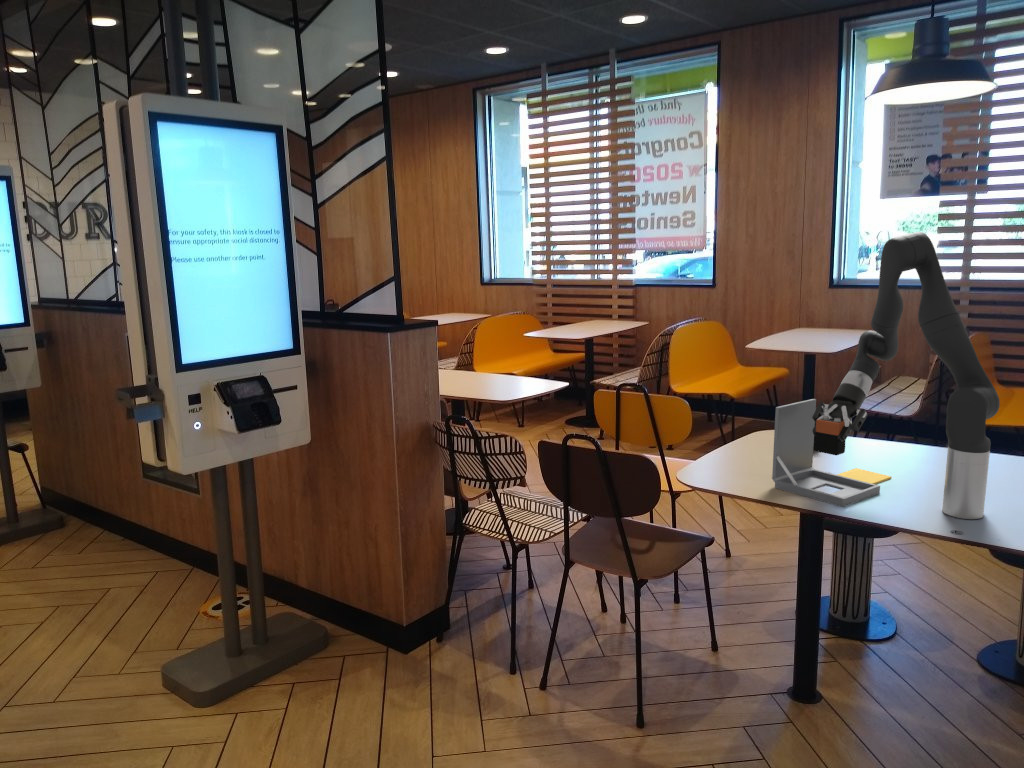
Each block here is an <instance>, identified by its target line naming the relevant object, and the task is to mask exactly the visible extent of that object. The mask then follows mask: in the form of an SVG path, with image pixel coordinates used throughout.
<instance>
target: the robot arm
mask: <svg viewBox="0 0 1024 768" xmlns="http://www.w3.org/2000/svg"><path fill="white" fill-rule="evenodd" d="M910 270H916V273H917V276H918V278H919V281H920V284H921V297H920V303H919V308H918V315H917V317H918V318H917V320H918V324H919V326H920V328H921V331H922V333H923V335H924V336H923V337H924V339H925V340H926V343H927V344H928V346H929V347H930V349H931V350H932V351H933V353H934V354H935V355H936V356H937V357H938V358H939V359H940V360H941V361H942V362H943V363H944V365H945V366H946V367H947V368H948V370H949V371H950V373H951V375H952V376H953V379H954V382H955V384H956V386H957V389H955V390H954V391H953V392H952V393H951V394H950V396H949V398H948V401H947V405H946V417H945V419H946V420H945V421H946V422H945V425H946V426H945V434H946V437H947V454H946V464H945V473H944V474H945V477H944V485H943V487H944V488H943V498H942V509H941V511H942V513H944V514H945V515H948V516H950V517H954V518H957V519H963V520H978V519H982V518H984V513H985V502H986V493H987V487H988V485H987V484H988V474H989V464H990V455H991V444H992V442H991V439H990V438H989V437H987V435H986V425H987V422H986V421H987V420H989V419H991V418H994V416H995V415H997V413H998V412H999V410H1000V405H1001V404H1000V398H999V394H998V392H997V391H996V388H995V387H994V385H993V383H992V381H991V380H990V378H989V376H988V374H987V373H986V371H985V370H984V368H983V366H982V364H981V362H980V360H979V358H978V355H977V353H976V350H975V348H974V346H973V343H972V341H971V339H970V336H969V334H968V332H967V329H966V327H965V324H964V322H963V320H962V318H961V315H960V313H959V311H958V309H957V306H956V305H955V303H954V300H953V298H952V295H951V293H950V290H949V288H948V285H947V283H946V281H945V278H944V273H943V272H942V267H941V265H940V261H939V258H938V255H937V252H936V249H935V246H934V244H933V242H932V240H931V239H930V237H929V236H928V235H927V234H926V233H924V232H922V231H915V232H911V233H906V234H903V235H899V236H894V237H892V238H889V239H888V240H887V241H886V242H885V244H884V245H883V247H882V251H881V258H880V270H879V276H878V277H879V280H878V281H879V283H878V292H877V299H876V304H875V307H874V309H873V314H872V317H871V321H870V326H871V328H872V329H873V330H866V331H864V332H863V333H862V334H860V336H859V339H858V343H857V351H856V356H855V358H854V360H853V363H852V365H851V366H850V367H849V370H848V372H847V374H846V375H845V376H844V378H843V379H842V381H841V383H840V385H839V387H838V388H837V390H836V392H835V393H834V395H833V398H832V401H831V402H830V403H829V404H828V403H826V404H825V403H824V402H823V401H820V402H819V403H818V404H817V406H816V411H815V413H814V415H813V417H812V418H813V420H814V421H815V423H816V420H818V419H821V418H822V416H823V415H826V416H830V418H831V419H834V418H840V420H843V421H844V422H845V423H844V424H845V427H843V428H842V430H841V432H840V434H839V435H838V440H839V441H840V442H843V441H844V440H845V441H847V438H848V436H849V435H850V433H851V432H852V431H855V432H859V431H860V430H861V427H862V426H863V424H864V422H865V421H866V419H867V417H868V413H867V411H866V409H865V408H861V407H862V405H863V404H864V401H865V399H866V398H867V396H868V395H869V392H870V390H871V388H872V384H873V383H874V381H875V379H876V378H877V376H878V374H879V372H880V365H879V363H878V362H877V361H876V360H875V359H877V360H881V361H884V362H889V361H891V360H892V359H894V358H895V357H896V355H897V353H898V350H899V337H898V336H899V333H898V332H899V324H900V321H901V318H902V314H903V310H904V300H903V297H902V294H901V293H900V290H899V287H898V284H899V281H900V278H901V275H902V273H903V272H907V271H910ZM872 357H873V358H875V359H873V358H872ZM855 416H856V417H855ZM854 417H855V418H854ZM853 418H854V420H853V421H852V419H853ZM812 432H813V434H814V436H815V437H816V425H815V426H814V428H813V431H812Z"/></svg>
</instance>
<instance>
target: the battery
mask: <svg viewBox="0 0 1024 768" xmlns="http://www.w3.org/2000/svg"><path fill="white" fill-rule="evenodd" d="M830 417H831V416H830V415H829V416H826V415H823V416H822V418H821V419H818V420H816V440H815V449H814V450H815V451H816V452H818V453H822V454H828V455H833V456H839V455H842V454H844V453H845V451H846V440H844V441H843V442H840V441H839V440H838V435H839V434H840V432H841V430H842V428H843V427H845V424H844V423H845V422H844V421H843V420H840V418H834V419H831V418H830Z"/></svg>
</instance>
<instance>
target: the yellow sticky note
mask: <svg viewBox="0 0 1024 768" xmlns="http://www.w3.org/2000/svg"><path fill="white" fill-rule="evenodd" d="M836 475H839V476H843V477H847V478H851V479H855V480H859V481H863V482H867V483H871V484H875V485H879V484H880V483H883V482H885V481H888V480H891V479H892V476H890V475H886V474H882V473H878V472H874V471H870V470H865V469H861V468H858V467H855V468H852V469H850V470H847V471H844V472H841V473H838V474H836Z"/></svg>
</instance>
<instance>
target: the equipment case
mask: <svg viewBox="0 0 1024 768" xmlns="http://www.w3.org/2000/svg"><path fill="white" fill-rule="evenodd" d="M816 409H817V398H811V399H807V400H802V401H801V400H800V401H797V402H793V403H789V404H785V405H780V406H776V407H775V417H774V434H773V436H774V437H773V455H772V474H771V479H772V481H773V483H774V488H775V489H779V490H781V491H785V492H790V493H792V494H796V495H800V496H803V497H806V498H811V499H813V500H817V501H821V502H824V503H826V504H827V503H828V504H831V505H835V506H837V507H841V508H844V507H847V506H850V505H852V504H855V503H857V502H861V501H863V500H866V499H869V498H871V497H873V496H876V495H879V494H881V493H880V492H881V485H879V484H871V483H867V482H863V481H859V480H855V479H851V478H847V477H843V476H839V475H837V474H835V473H830V472H827V471H823V470H819V469H814V467H813V463H814V462H813V460H814V459H813V458H814V448H813V446H814V434H813V432H812V431H813V428H814V426H815V421H814V420H813V418H812V417H813V415H814V413H815V411H816ZM824 486H829V487H831V488H832V487H833V488H837V489H838V490H836V491H834V492H831V493H828V492H825V491H821V490H817V489H818V488H819V487H820V488H821V487H824ZM840 488H841V489H840Z"/></svg>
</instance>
